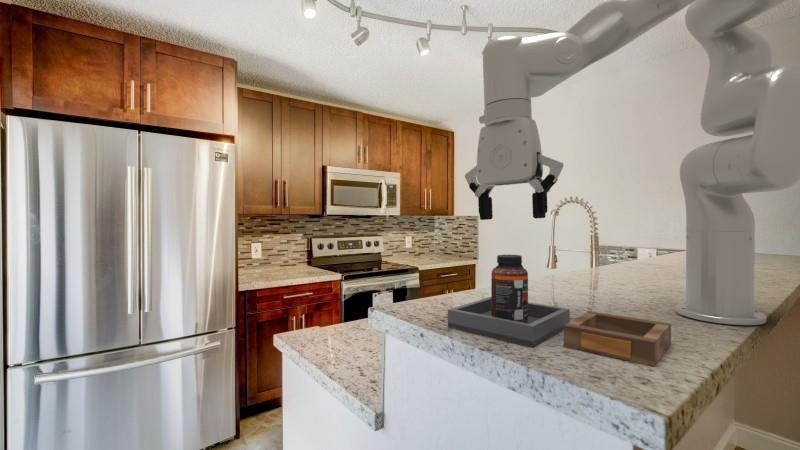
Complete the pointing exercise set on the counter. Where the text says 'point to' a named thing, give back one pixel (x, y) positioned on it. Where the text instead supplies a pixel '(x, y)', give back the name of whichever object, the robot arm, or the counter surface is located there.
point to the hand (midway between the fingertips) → (511, 218)
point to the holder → (619, 337)
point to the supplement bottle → (510, 289)
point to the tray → (509, 322)
